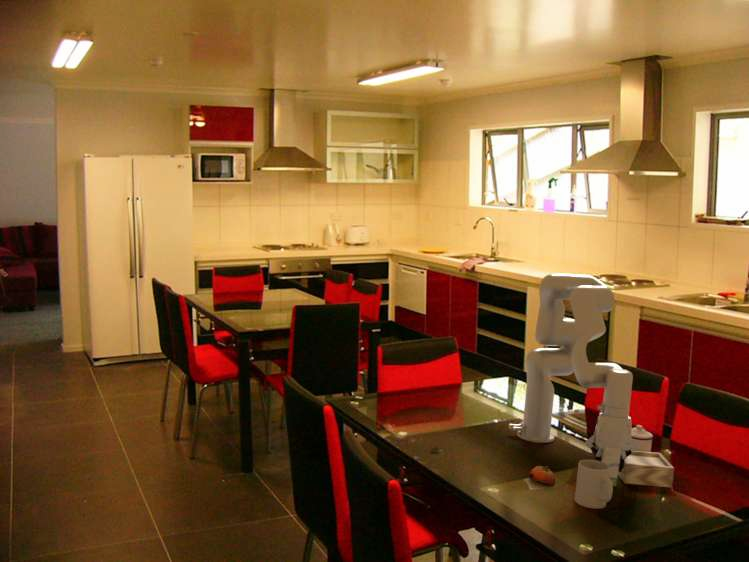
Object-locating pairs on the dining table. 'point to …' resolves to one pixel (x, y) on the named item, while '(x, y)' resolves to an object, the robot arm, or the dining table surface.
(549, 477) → the tomato
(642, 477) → the tray
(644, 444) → the teacup with lid
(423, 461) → the dining table surface
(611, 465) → the ink box
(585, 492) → the mug
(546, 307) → the robot arm
